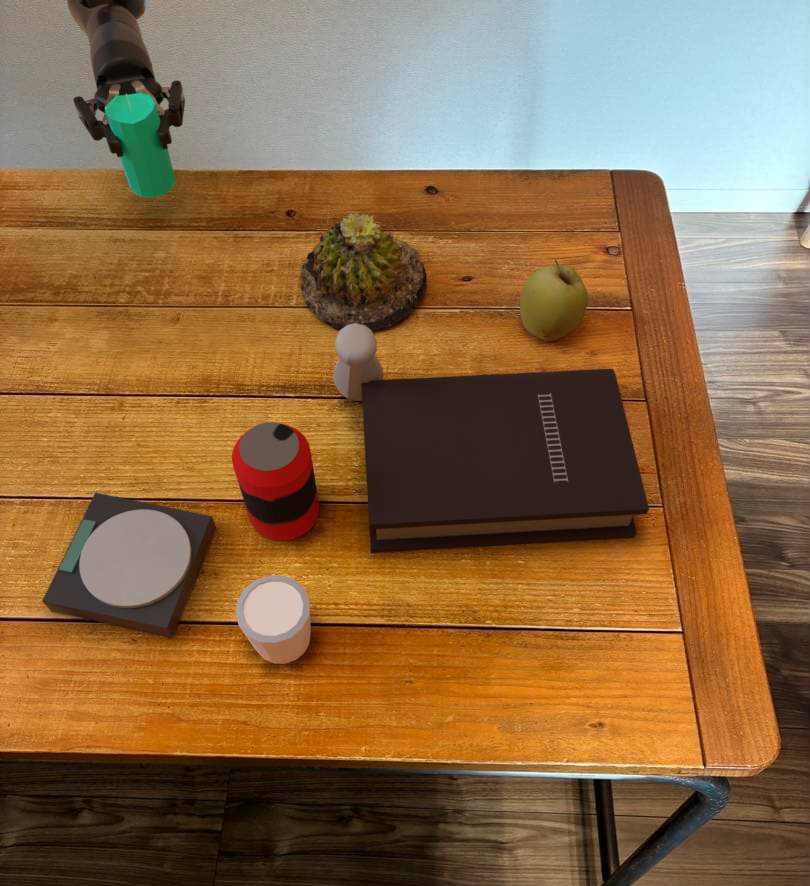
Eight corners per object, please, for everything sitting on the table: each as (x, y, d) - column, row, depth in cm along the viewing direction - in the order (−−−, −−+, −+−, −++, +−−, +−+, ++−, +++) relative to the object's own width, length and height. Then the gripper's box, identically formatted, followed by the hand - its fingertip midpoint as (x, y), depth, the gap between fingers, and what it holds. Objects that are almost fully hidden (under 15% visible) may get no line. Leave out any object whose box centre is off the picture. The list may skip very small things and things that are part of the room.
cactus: (415, 341, 100) (416, 280, 92) (288, 326, 101) (277, 264, 93) (435, 245, 108) (438, 180, 100) (317, 231, 110) (310, 167, 101)
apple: (506, 343, 99) (524, 264, 92) (520, 313, 104) (537, 238, 97) (570, 360, 97) (593, 282, 91) (581, 329, 103) (603, 253, 96)
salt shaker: (325, 371, 96) (317, 327, 83) (369, 351, 96) (367, 303, 83) (348, 415, 95) (342, 376, 82) (392, 393, 96) (393, 352, 83)
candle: (182, 172, 108) (160, 84, 98) (164, 201, 105) (139, 113, 95) (140, 164, 109) (114, 75, 98) (121, 192, 106) (91, 104, 96)
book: (600, 394, 96) (611, 360, 91) (634, 538, 87) (649, 508, 82) (362, 406, 95) (360, 372, 90) (370, 553, 86) (369, 524, 81)
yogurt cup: (237, 661, 80) (224, 633, 74) (260, 599, 83) (249, 567, 77) (305, 677, 79) (297, 650, 73) (325, 614, 82) (319, 583, 76)
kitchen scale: (50, 611, 82) (39, 598, 80) (102, 504, 88) (93, 489, 86) (172, 638, 81) (165, 626, 78) (216, 527, 87) (210, 512, 84)
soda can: (333, 504, 89) (325, 437, 78) (290, 554, 86) (275, 492, 75) (279, 471, 91) (263, 402, 80) (234, 519, 88) (212, 454, 77)
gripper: (56, 47, 103) (70, 128, 95) (170, 29, 105) (193, 107, 98) (76, 104, 110) (91, 184, 102) (183, 86, 112) (205, 163, 104)
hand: (141, 146), depth 100 cm, fingers closed on candle, 5 cm apart
